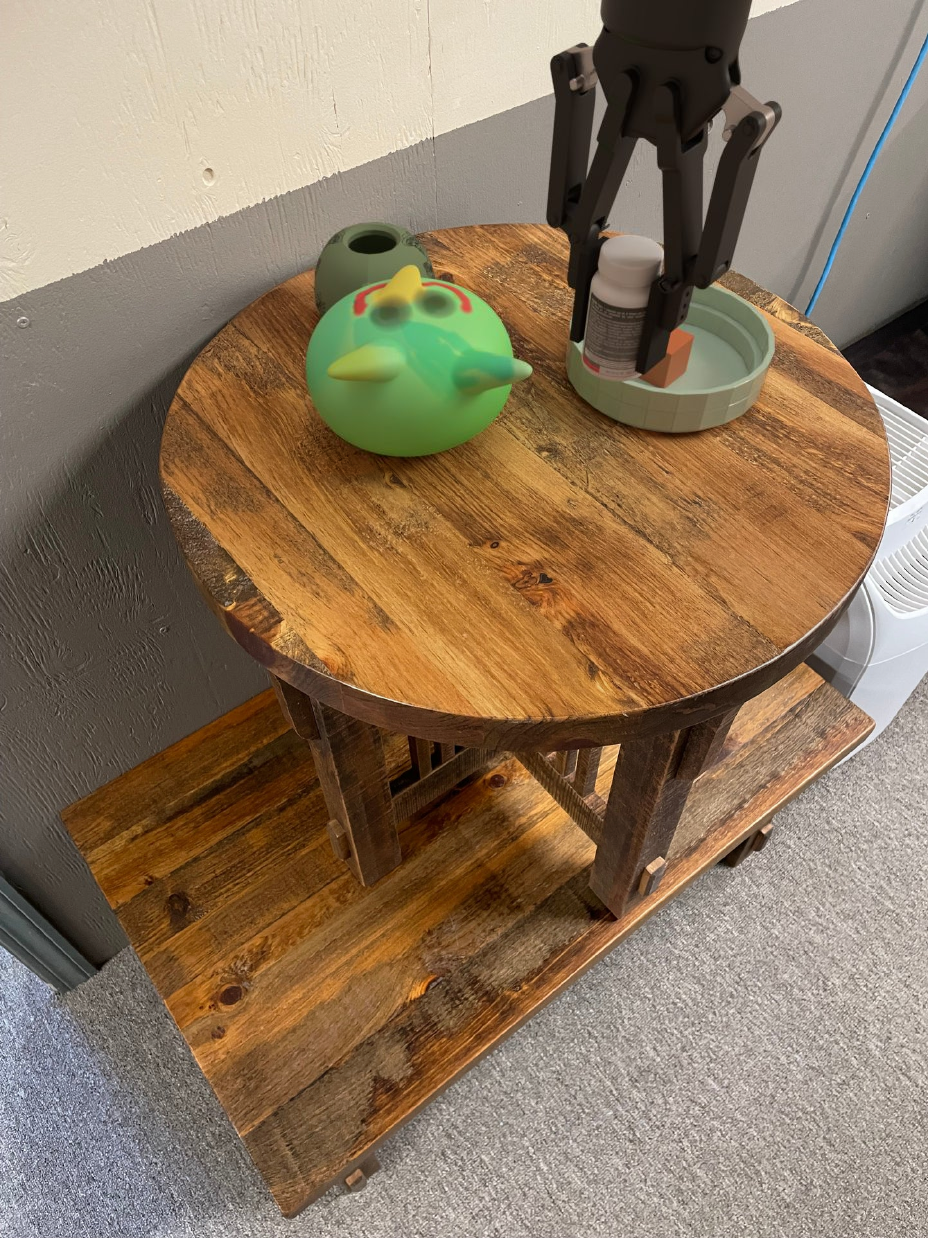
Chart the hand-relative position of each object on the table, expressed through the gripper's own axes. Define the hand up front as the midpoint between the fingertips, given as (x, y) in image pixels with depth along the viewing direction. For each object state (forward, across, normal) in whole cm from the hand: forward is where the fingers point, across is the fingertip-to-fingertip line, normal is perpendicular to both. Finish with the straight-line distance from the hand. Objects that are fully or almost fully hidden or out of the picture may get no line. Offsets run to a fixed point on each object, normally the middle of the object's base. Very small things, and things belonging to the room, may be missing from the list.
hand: (617, 347), depth 60 cm
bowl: (+17, -6, +21) cm, 28 cm away
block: (+16, -6, +20) cm, 27 cm away
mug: (+17, -33, +9) cm, 38 cm away
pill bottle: (+1, 0, 0) cm, 1 cm away
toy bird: (+17, -18, -2) cm, 25 cm away
